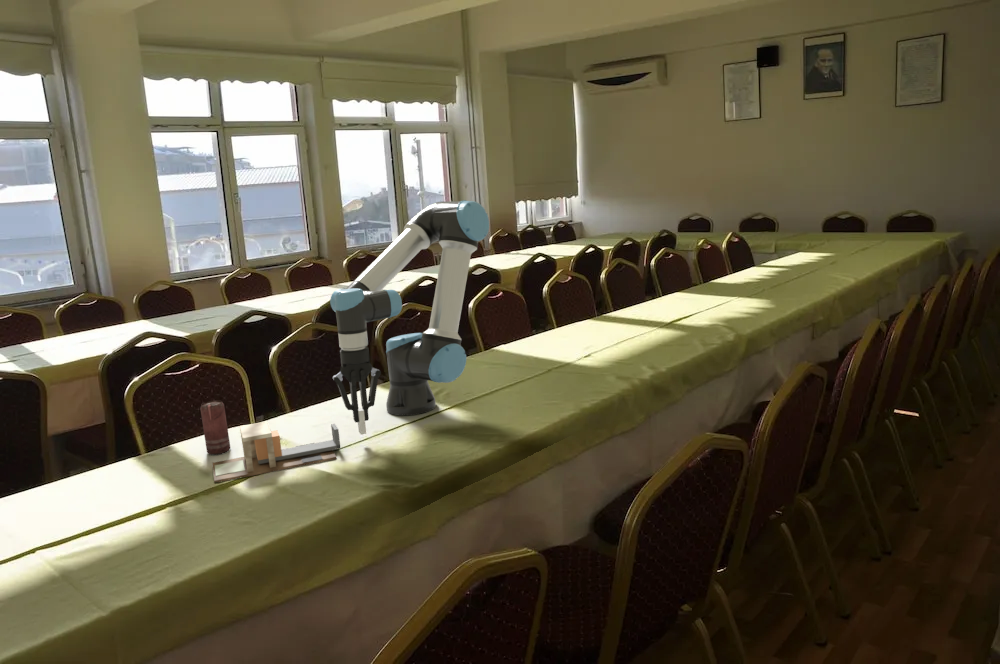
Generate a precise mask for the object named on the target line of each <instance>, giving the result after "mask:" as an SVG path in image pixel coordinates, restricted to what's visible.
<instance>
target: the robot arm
mask: <svg viewBox="0 0 1000 664" xmlns="http://www.w3.org/2000/svg"><path fill="white" fill-rule="evenodd" d="M489 230H490V220H489V216H488V213H487V212H486V209H485V207H484V206H483V205H482V204H481V203H479V202H477V201H474V200H466V199H465V200H464V199H463V200H456V201H455V200H453V201H437V202H434V203H431V204H429V205H428V206H426V207H424V208H423V209H422V210H420V211H419V212H418V213H416V214H415V215H414V216H413V217H412V218H411V219H410V220H408V221H407V223H406V224H404V227H403V231H402V233H401V234H399V235H398V236H397V237H396V239H394V240H393V241H392V243H390V245H389V246H387V247H386V249H384V251H382V253H380V255H378V257H377V258H376V259H375V260H373V261H372V262H371V263H370V264H369V265H368V266H367V267H366V268H365V269H364V270H363V271H361V273H360V274H359V275H358V276H357V278H355V279H354V280H353V281H352V282H351V283H350V284H349V285H348V286H347V287H346V288H345V287H343V288H338V289H335V290H334V291H333V293H332V294H331V295H330V303H329V304H330V308H331V309H332V311H334V312H335V317H336V323H337V324H336V326H337V334H338V345H339V348H340V350H339V354H340V355H339V357H340V364H341V366H340V368H339V372H338V373H337V374H334V375H333V376H331V377H332V379H333V381H334V382H335V384H336V385H337V388H338V390H339V393H340V395H341V398H342V401H343V404H344V406H345V409H347V410H348V411H352V417H353V421H354V422H355V423H357V426H358V433H359V434H360V435H365V434H367V428H366V421H369V408H370V407H374V405H375V402H376V395H377V389H378V381H379V378H380V376H381V375H382V371H381V370H380V369H378V368H375V367H373V365H372V364H371V360H370V358H371V357H370V350H369V349H370V348H369V347H368V345H369V340H368V327H367V323H370V322H375V321H379V320H384V319H390V318H392V317H397V316H398V315H400V313H401V311H402V309H403V303H402V302H403V301H402V297H401V295H400V293H399V292H398V291H396V290H395V289H385V288H386V287H387V285H388V284H389V283H390V282H391V281H392V280H393V279H394V278H395V277H396V276H397V275H398V274H399V273H400V272H401V271H402V270H403V269H404V268H405V267H406V266H407V265H408V264H409V263H410V262H411V261H412V259H414V258H415V257H416V256H417V255H418V254H419V253H420V251H421V250H427V249H428V248H429V247H430V246H431V245H433V243H436V242H438V244H439V245H440V247H441V249H442V251H441V257H440V263H439V268H438V274H437V281H436V285H435V291H434V297H433V301H432V307H431V308H432V309H431V313H430V320H429V326H428V328H427V329H426V330H425V331H423V332H414V333H407V334H406V333H405V334H401V335H397V336H393V337H391V338H389V339H387V341H386V344H385V346H386V348H385V349H386V351H385V353H386V360H387V368H388V369H387V371H388V377H389V379H388V380H389V389H388V394H387V399H386V412H387V413H389V414H391V415H396V416H413V415H420V414H424V413H427V412H430V411H432V410H434V409H435V408H436V406H437V403H436V397H435V395H434V393H433V390H432V388H431V386H430V384H429V381H431V382H433V383H438V384H440V383H441V384H443V383H445V384H446V383H452V382H455V381H456V380H457V378H459V377H460V376H462V374H463V372H464V370H465V368H466V365H467V354H466V350H465V349H464V347H463V346H462V344H461V343H462V338H461V336H460V335H459V333H458V332H459V325H460V320H461V315H462V310H463V305H464V304H463V303H464V297H465V291H466V285H467V280H468V274H469V268H470V262H471V257H472V254H473V253H474V252H475V251H478V246H479V242H480V241H482V240H484V239H485V238H486V237H487V236H488V233H489ZM383 289H384V290H383ZM369 375H370V376H371V377H370V378H371V379H370V385H369V392H368V393H367V387H366V386H367V379H368V378H369ZM343 377H344V378H345V379H346V380H347V381H348V382H349V389H350V390H349V391H350V399H349V397H348V394H347V391H346V389H345V386H344V382H343ZM357 383H358V385H359V393H360V401H361V402H360V404H361V407H359V402H358V401H359V400H358V390H357ZM367 394H368V396H367ZM350 400H351V402H350Z"/></svg>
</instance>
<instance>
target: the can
mask: <svg viewBox="0 0 1000 664" xmlns="http://www.w3.org/2000/svg"><path fill="white" fill-rule="evenodd" d="M199 410H200V415H201V420H202V421H201V422H202V428H203V434H204V441H205V447H206V453H207V454H208V455H211V456H219V455H223V454H227V453H228V452H229V451H230V450H231V444H230V443H231V442H230V436H229V429H228V424H227V423H228V422H227V415H226V409H225V404H224V403H223V401H222V400H210V401H206V402H203V403H201V406H200V409H199Z"/></svg>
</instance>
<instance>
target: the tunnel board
mask: <svg viewBox="0 0 1000 664" xmlns="http://www.w3.org/2000/svg"><path fill="white" fill-rule="evenodd" d="M239 429H240V438H241V442H242V443H241V445H242V450H243V451H242V452H243V456H241V457H236V458H231V459H225V460H220V461H219V460H218V461H214V462H212V472H213V481H214V483H215V482H218V483H221V481H223V482H227V480H228V481H232V480H231V479H233V480H237V479H236V478H238V479H241V478H240V477H243V478H246V477H252V476H259V475H263V474H267V473H272V472H278V471H282V470H283V471H284V470H288V469H292V468H298V467H303V466H308V465H314V464H318V463H323V462H328V461H333V460H337V456H336V453H335V452H334V450H330V451H325V452H319V453H314V454H309V455H304V456H299V457H294V458H288V459H283V460H278V461H275V454H274V447H273V440H272V433H271V431H272V430H271V427H270V425H269V422H268V421H266V420H265V421H261V422H255V423H251V424H243V425H240V426H239ZM262 438H266V443H267V450H268V458H269V462H268V463H262V464H258V460H257V455H256V448H255V441H254V440H257V439H262ZM314 443H315V442H313V443H310V444H314ZM308 444H309V443H307V444H305V445H308ZM303 445H304V444H301V445H300V446H303ZM298 446H299V445H296V446H295V447H298Z"/></svg>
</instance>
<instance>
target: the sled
mask: <svg viewBox="0 0 1000 664" xmlns="http://www.w3.org/2000/svg"><path fill="white" fill-rule="evenodd" d="M330 427H331V434H332V435H331V436H332V439H331V440H325V441H319V442H313V443H314V444H311V443H307V444H308V445H306V444H302V445H303V446H301V445H297V446H298V447H296V446H293V447H288V448H282V446H281V438H280V434H279V431H278V430H271V433H272V440H273V447H274V454H275V461H278V460H283V459H288V458H294V457H299V456H304V455H309V454H314V453H319V452H325V451H330V450H333V451H334V450H340V449H341V441H340V434H339V433H340V431H339V428H338V426H337V425H336V423H332V424H331V425H330ZM254 441H255V448H256V455H257V460H258V464H262V463H268V462H269V458H268V450H267V443H266V438H262V439H257V440H254Z"/></svg>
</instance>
